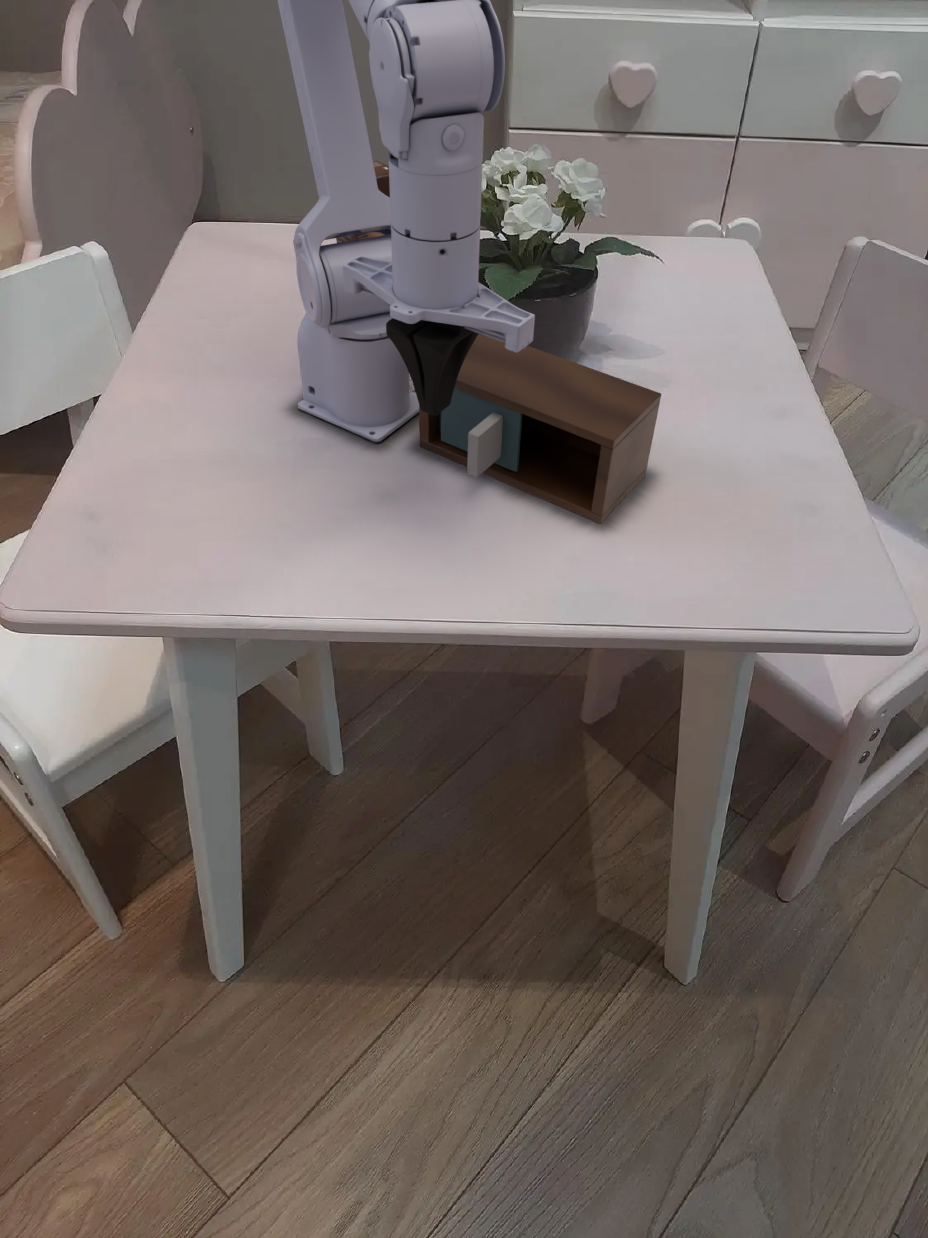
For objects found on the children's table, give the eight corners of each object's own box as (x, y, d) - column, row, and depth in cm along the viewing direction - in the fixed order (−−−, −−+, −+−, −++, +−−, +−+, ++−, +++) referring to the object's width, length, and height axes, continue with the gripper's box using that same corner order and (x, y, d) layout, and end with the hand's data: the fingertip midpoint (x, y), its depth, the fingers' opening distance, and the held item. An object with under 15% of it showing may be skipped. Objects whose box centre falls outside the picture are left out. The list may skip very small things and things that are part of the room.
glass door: (492, 493, 76) (495, 433, 71) (415, 460, 79) (414, 400, 74) (518, 470, 78) (522, 410, 74) (442, 438, 81) (443, 379, 77)
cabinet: (600, 524, 75) (614, 440, 69) (419, 446, 82) (418, 364, 76) (645, 475, 80) (662, 393, 74) (470, 405, 87) (473, 325, 81)
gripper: (307, 214, 60) (325, 398, 70) (496, 277, 54) (487, 467, 64) (375, 181, 64) (383, 359, 74) (558, 235, 59) (540, 420, 68)
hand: (435, 406), depth 69 cm, fingers closed
